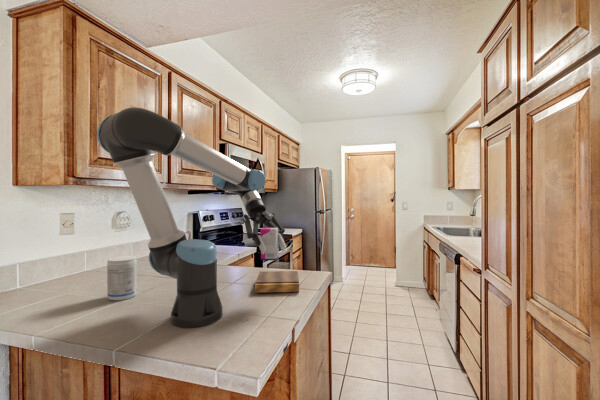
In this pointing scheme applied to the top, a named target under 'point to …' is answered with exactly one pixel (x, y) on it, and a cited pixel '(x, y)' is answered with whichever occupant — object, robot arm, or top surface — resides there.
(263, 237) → the supplement box
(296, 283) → the dock
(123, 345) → the top surface
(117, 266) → the supplement tub
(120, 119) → the robot arm
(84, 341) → the top surface
